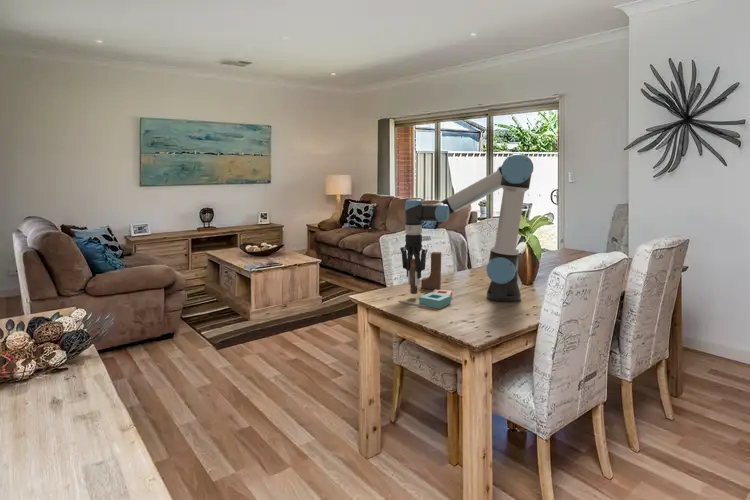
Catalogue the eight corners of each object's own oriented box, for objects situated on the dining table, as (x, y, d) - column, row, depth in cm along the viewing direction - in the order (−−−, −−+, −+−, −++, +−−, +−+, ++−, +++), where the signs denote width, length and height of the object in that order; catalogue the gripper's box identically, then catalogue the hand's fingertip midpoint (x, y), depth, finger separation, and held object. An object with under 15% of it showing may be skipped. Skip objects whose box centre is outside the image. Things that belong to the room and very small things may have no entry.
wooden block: (421, 288, 243) (421, 252, 240) (422, 286, 248) (423, 251, 245) (439, 289, 241) (440, 253, 238) (440, 287, 245) (441, 252, 242)
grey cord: (426, 306, 212) (426, 305, 212) (425, 307, 211) (425, 305, 211) (399, 301, 220) (399, 300, 220) (398, 301, 220) (398, 300, 219)
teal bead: (450, 303, 217) (450, 295, 216) (439, 308, 209) (439, 300, 208) (430, 299, 223) (430, 292, 222) (419, 304, 215) (419, 297, 214)
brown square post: (418, 292, 227) (418, 258, 224) (415, 294, 224) (414, 259, 222) (412, 291, 229) (412, 258, 226) (409, 293, 226) (408, 259, 224)
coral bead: (452, 297, 228) (452, 290, 227) (449, 301, 220) (449, 295, 219) (434, 295, 230) (435, 289, 229) (431, 300, 222) (431, 293, 222)
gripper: (394, 233, 224) (394, 284, 228) (424, 236, 214) (424, 288, 218) (403, 231, 230) (403, 280, 234) (433, 234, 220) (433, 285, 224)
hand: (413, 284), depth 226 cm, fingers closed on brown square post, 3 cm apart
